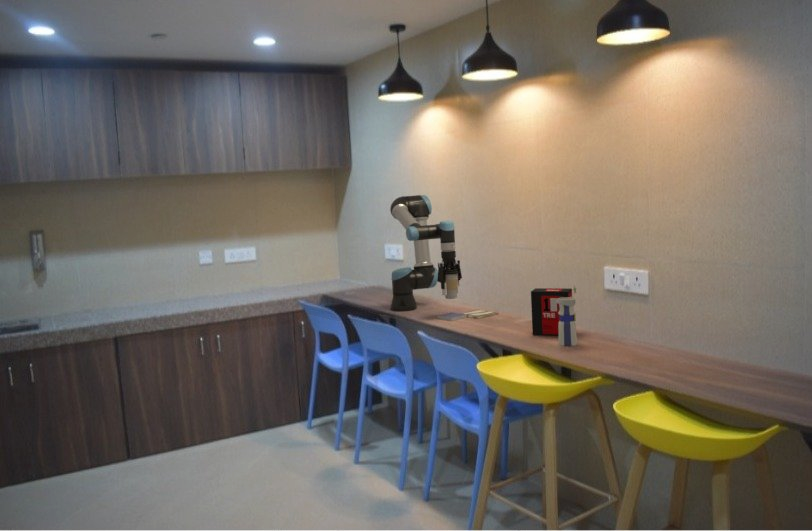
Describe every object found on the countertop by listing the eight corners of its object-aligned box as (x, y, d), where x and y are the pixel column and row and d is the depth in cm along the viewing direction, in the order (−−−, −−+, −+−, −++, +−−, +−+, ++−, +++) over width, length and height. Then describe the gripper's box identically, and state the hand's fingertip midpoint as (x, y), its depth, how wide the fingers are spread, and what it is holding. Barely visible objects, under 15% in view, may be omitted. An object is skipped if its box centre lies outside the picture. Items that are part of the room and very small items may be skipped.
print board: (458, 315, 368) (458, 313, 368) (478, 311, 377) (478, 309, 377) (478, 318, 356) (478, 316, 356) (498, 314, 365) (498, 311, 365)
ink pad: (437, 318, 364) (437, 315, 363) (452, 315, 370) (452, 312, 370) (451, 321, 355) (451, 317, 355) (466, 317, 362) (466, 314, 362)
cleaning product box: (532, 335, 312) (530, 291, 309) (537, 331, 320) (535, 288, 317) (569, 336, 305) (567, 291, 303) (573, 332, 313) (571, 288, 311)
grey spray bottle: (578, 341, 295) (575, 283, 292) (578, 346, 286) (576, 286, 283) (558, 341, 297) (556, 284, 294) (558, 346, 288) (555, 287, 285)
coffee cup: (458, 299, 356) (457, 270, 354) (440, 299, 358) (439, 271, 356) (461, 296, 365) (459, 268, 363) (443, 296, 367) (441, 268, 365)
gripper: (438, 253, 349) (440, 297, 352) (467, 248, 362) (469, 291, 365) (428, 252, 355) (431, 296, 358) (457, 248, 368) (460, 290, 371)
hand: (450, 293), depth 361 cm, fingers closed on coffee cup, 8 cm apart
